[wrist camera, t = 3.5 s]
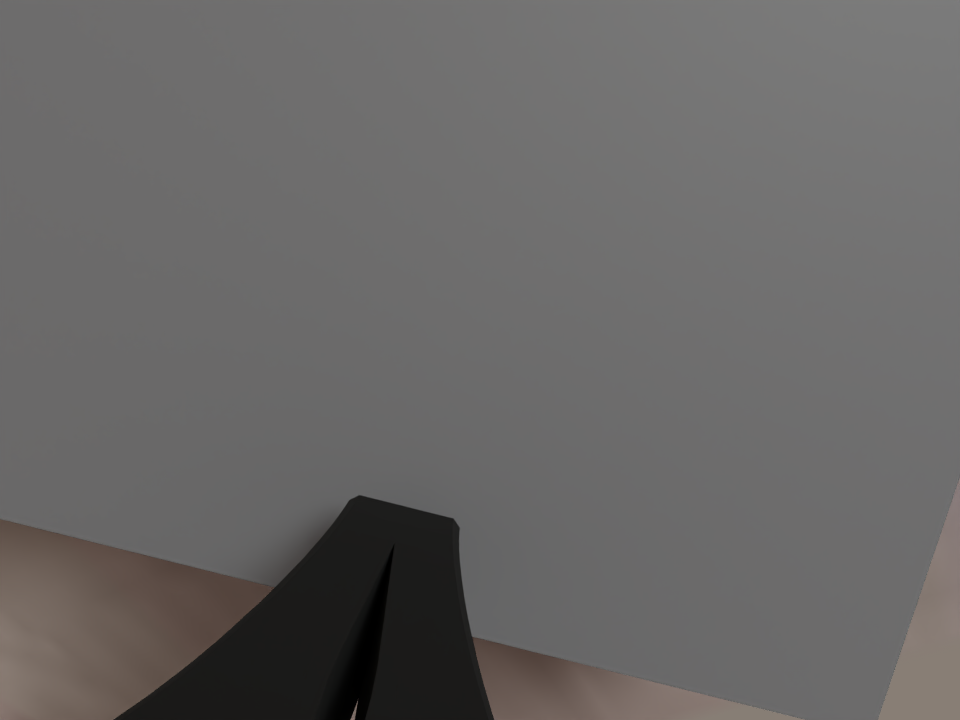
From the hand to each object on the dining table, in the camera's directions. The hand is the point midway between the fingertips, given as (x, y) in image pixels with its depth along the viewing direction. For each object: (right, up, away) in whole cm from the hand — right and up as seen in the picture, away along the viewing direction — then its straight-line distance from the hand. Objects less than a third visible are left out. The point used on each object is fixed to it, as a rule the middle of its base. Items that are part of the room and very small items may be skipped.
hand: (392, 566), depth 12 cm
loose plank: (0, +5, +2) cm, 6 cm away
